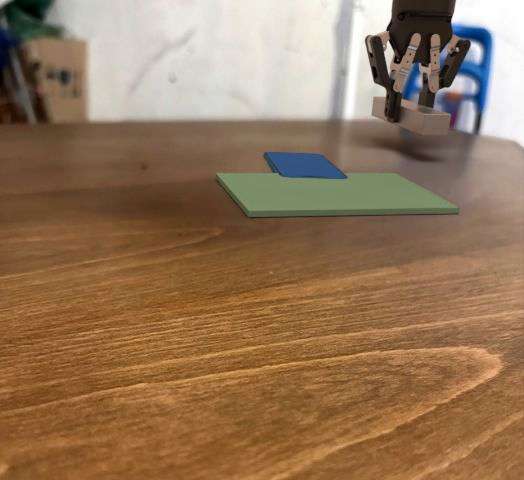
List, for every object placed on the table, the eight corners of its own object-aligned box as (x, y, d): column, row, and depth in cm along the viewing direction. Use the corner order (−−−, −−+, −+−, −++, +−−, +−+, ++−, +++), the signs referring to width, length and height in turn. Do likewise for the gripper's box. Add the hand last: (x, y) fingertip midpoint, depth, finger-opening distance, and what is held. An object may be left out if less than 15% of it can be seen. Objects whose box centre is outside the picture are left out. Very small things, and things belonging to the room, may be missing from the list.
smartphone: (321, 153, 82) (350, 178, 69) (320, 161, 83) (349, 187, 69) (262, 151, 81) (280, 176, 68) (261, 159, 82) (279, 185, 68)
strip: (371, 115, 94) (373, 96, 93) (394, 115, 95) (396, 96, 93) (421, 135, 80) (424, 113, 79) (448, 135, 81) (451, 114, 80)
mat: (394, 178, 73) (394, 172, 73) (458, 213, 61) (459, 207, 61) (215, 178, 68) (215, 172, 68) (248, 217, 56) (248, 210, 56)
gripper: (385, -34, 74) (367, 126, 82) (497, -27, 78) (470, 127, 86) (360, -32, 81) (346, 117, 89) (465, -25, 84) (442, 118, 92)
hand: (407, 121), depth 87 cm, fingers closed on strip, 3 cm apart
